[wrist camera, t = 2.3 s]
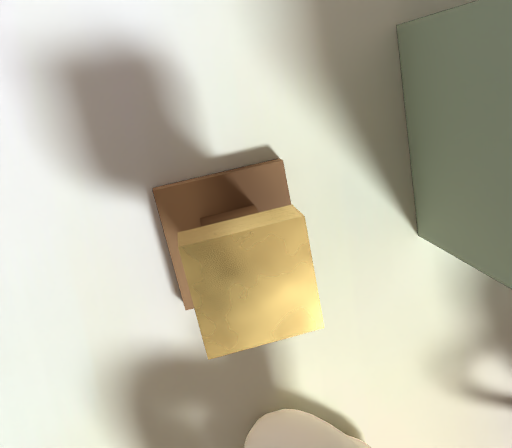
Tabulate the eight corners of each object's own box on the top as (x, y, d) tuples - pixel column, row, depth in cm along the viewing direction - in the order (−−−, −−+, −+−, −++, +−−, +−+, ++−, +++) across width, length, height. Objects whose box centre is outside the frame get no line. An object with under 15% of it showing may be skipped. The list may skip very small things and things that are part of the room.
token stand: (185, 304, 27) (188, 360, 21) (153, 187, 25) (147, 215, 19) (301, 274, 28) (334, 320, 22) (279, 158, 26) (310, 176, 20)
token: (205, 335, 21) (208, 359, 19) (177, 232, 20) (178, 247, 18) (311, 307, 22) (324, 327, 20) (291, 204, 20) (304, 216, 18)
